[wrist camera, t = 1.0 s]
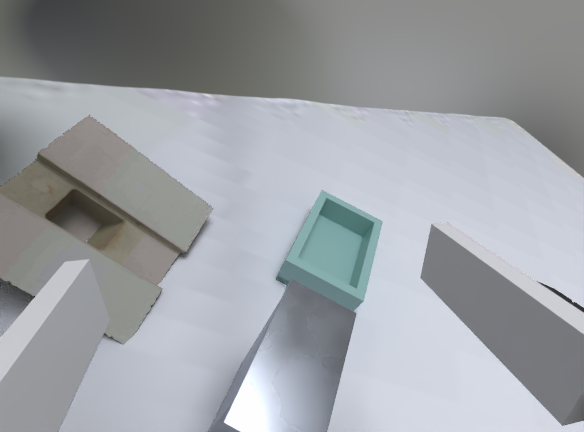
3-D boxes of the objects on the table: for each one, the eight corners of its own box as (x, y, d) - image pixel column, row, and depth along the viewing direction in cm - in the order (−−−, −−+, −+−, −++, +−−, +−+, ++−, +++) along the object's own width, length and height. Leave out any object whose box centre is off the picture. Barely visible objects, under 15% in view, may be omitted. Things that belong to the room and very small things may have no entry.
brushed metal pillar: (198, 451, 23) (224, 422, 13) (247, 352, 29) (291, 278, 19) (249, 481, 23) (316, 474, 13) (289, 375, 28) (356, 313, 18)
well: (275, 278, 35) (285, 260, 32) (311, 209, 44) (321, 190, 41) (346, 316, 34) (363, 301, 31) (368, 238, 43) (382, 221, 40)
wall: (175, 215, 41) (74, 123, 33) (217, 206, 36) (108, 93, 27) (87, 334, 31) (-88, 247, 23) (127, 346, 26) (-82, 238, 18)
